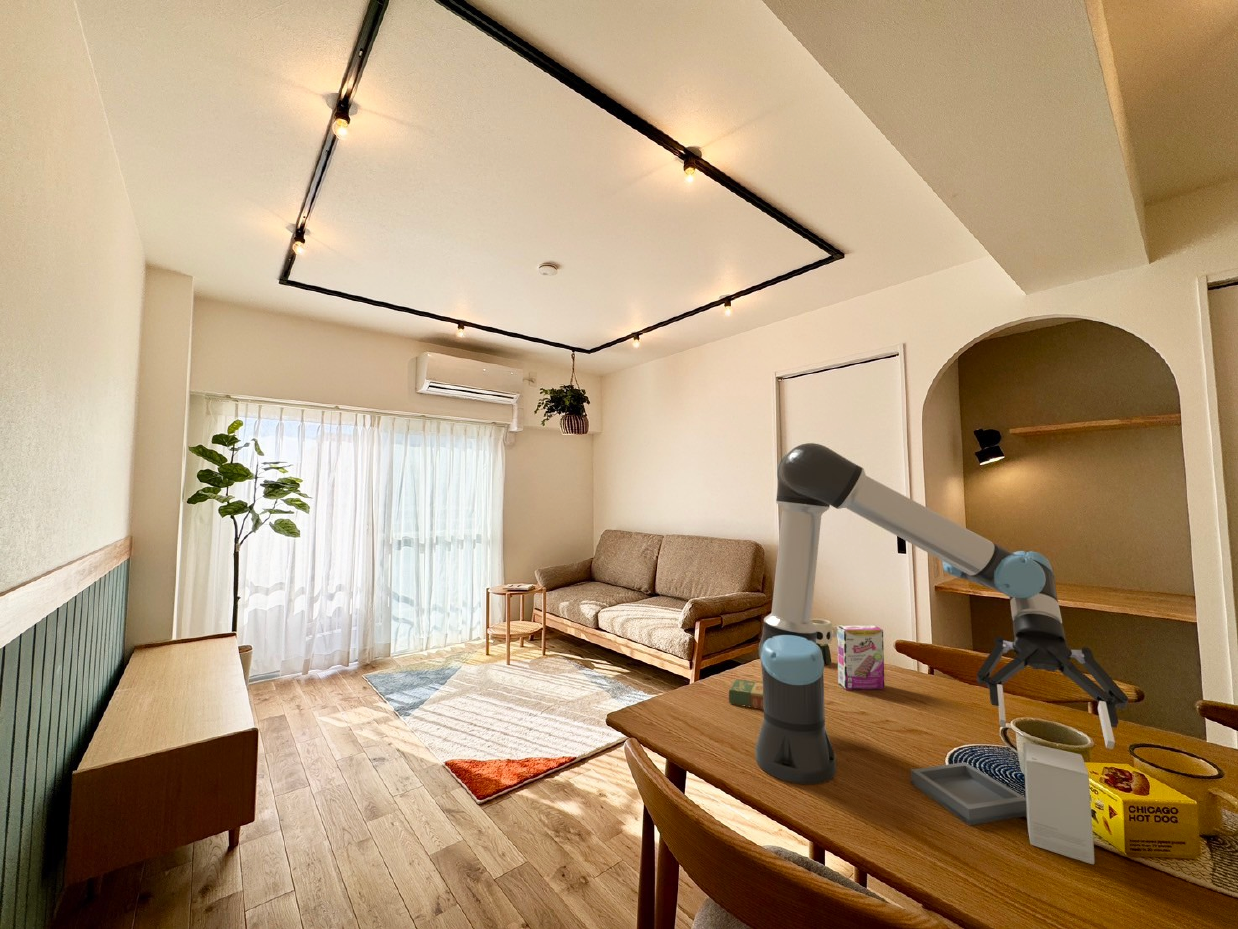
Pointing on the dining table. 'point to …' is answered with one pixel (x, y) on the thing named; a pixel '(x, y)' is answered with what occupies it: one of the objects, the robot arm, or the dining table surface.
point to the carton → (746, 693)
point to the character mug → (824, 637)
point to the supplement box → (1058, 802)
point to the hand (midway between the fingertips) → (1054, 734)
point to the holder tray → (969, 793)
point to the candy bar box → (860, 657)
